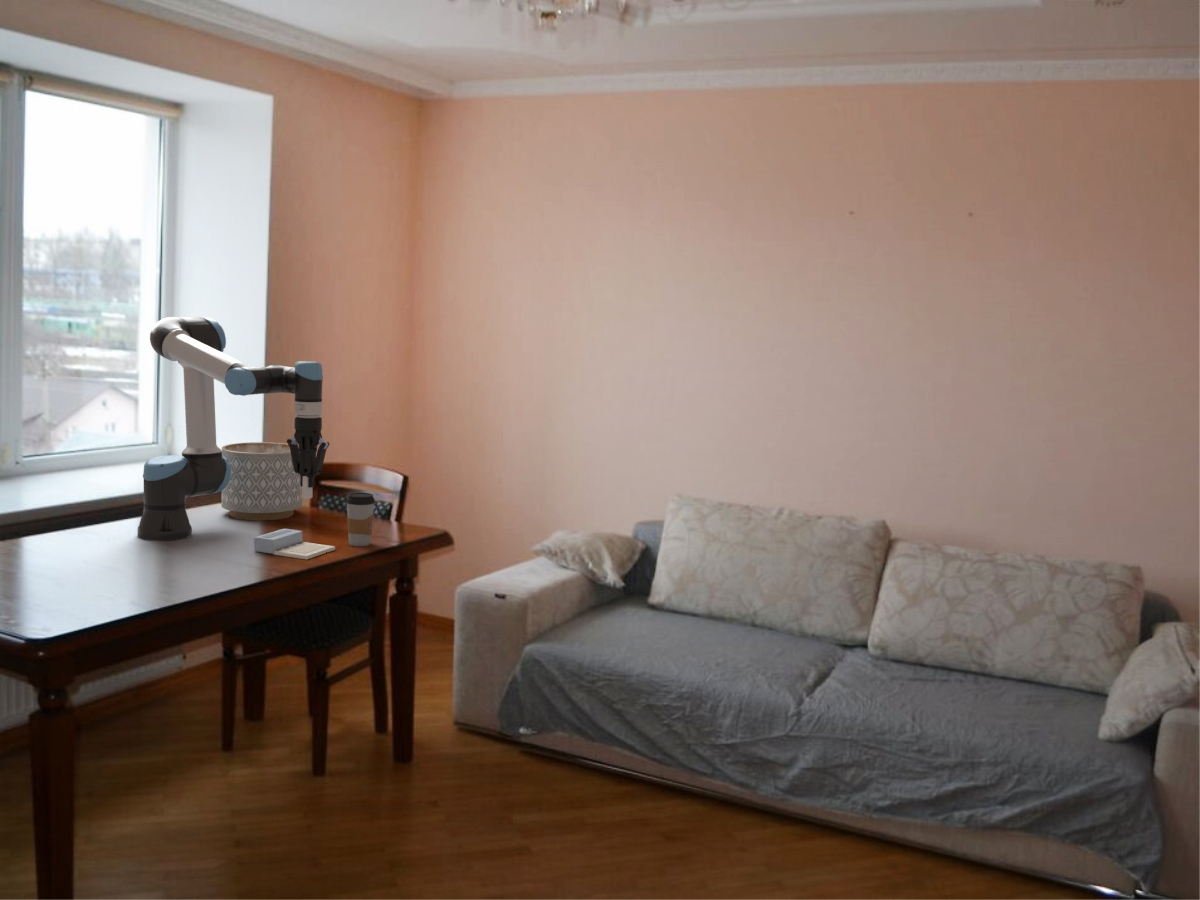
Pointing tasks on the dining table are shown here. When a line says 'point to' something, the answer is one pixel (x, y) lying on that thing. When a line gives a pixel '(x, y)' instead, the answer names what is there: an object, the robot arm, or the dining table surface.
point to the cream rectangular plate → (304, 550)
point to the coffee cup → (360, 518)
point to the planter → (261, 481)
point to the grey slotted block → (277, 540)
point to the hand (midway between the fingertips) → (307, 498)
